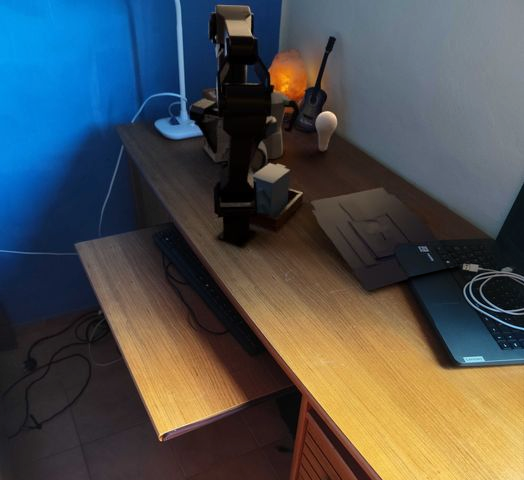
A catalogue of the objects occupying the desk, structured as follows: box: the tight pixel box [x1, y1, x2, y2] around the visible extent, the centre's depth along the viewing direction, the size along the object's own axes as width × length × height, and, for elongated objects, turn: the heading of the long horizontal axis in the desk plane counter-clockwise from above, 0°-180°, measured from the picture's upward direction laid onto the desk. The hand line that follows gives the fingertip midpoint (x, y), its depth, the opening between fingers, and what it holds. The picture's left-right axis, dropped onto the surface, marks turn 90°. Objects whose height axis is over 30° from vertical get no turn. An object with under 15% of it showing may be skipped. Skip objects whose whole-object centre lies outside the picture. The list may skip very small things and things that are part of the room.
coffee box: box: [201, 87, 229, 163], centre depth 127 cm, size 9×6×16 cm
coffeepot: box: [262, 84, 301, 160], centre depth 129 cm, size 15×9×18 cm, turn 60°
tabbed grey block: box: [250, 162, 291, 217], centre depth 108 cm, size 6×11×10 cm, turn 148°
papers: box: [309, 187, 440, 292], centre depth 106 cm, size 24×30×4 cm
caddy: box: [246, 188, 304, 232], centre depth 113 cm, size 15×9×3 cm, turn 152°
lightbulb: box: [314, 111, 338, 152], centre depth 134 cm, size 6×6×11 cm
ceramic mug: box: [251, 141, 268, 175], centre depth 125 cm, size 11×8×8 cm
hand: (232, 158), depth 105 cm, fingers open, 9 cm apart
